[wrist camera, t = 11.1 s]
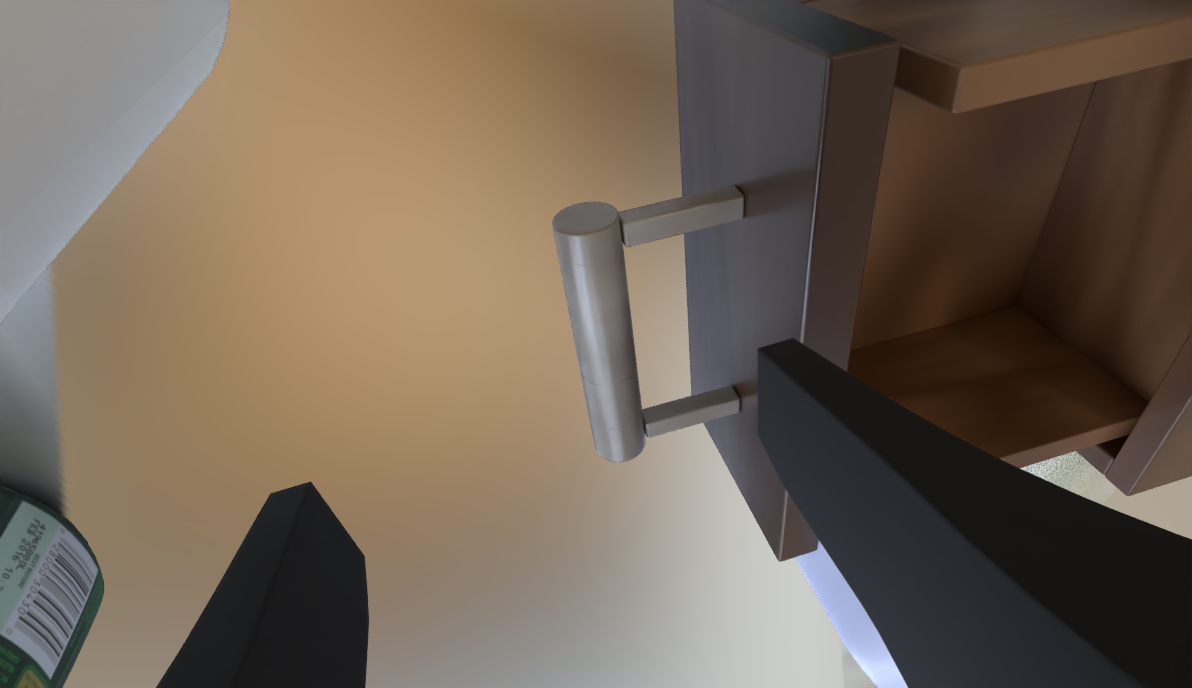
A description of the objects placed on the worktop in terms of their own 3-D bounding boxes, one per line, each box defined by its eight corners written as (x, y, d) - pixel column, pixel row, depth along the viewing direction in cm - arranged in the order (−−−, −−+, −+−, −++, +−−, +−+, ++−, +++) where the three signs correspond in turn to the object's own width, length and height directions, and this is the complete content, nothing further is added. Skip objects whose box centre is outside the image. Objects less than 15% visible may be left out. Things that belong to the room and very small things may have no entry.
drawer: (581, 431, 22) (637, 607, 17) (494, 17, 14) (553, 115, 9) (1000, 315, 24) (1167, 442, 19) (1149, -113, 16) (1524, -97, 11)
